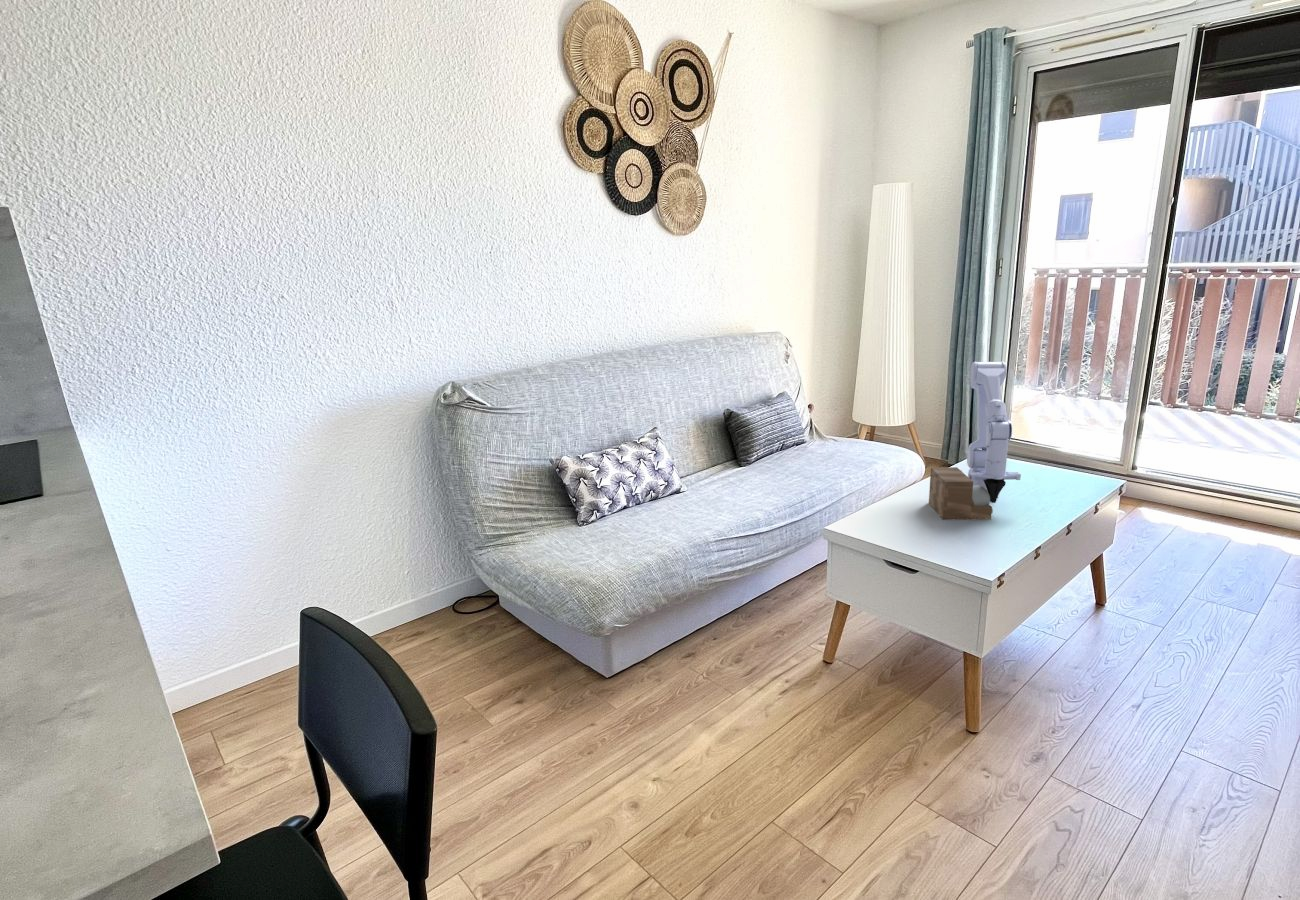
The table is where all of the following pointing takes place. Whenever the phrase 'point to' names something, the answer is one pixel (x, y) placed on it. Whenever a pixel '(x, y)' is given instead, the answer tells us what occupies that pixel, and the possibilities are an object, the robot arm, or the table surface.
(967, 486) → the stepped wooden block
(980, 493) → the ceramic mug
